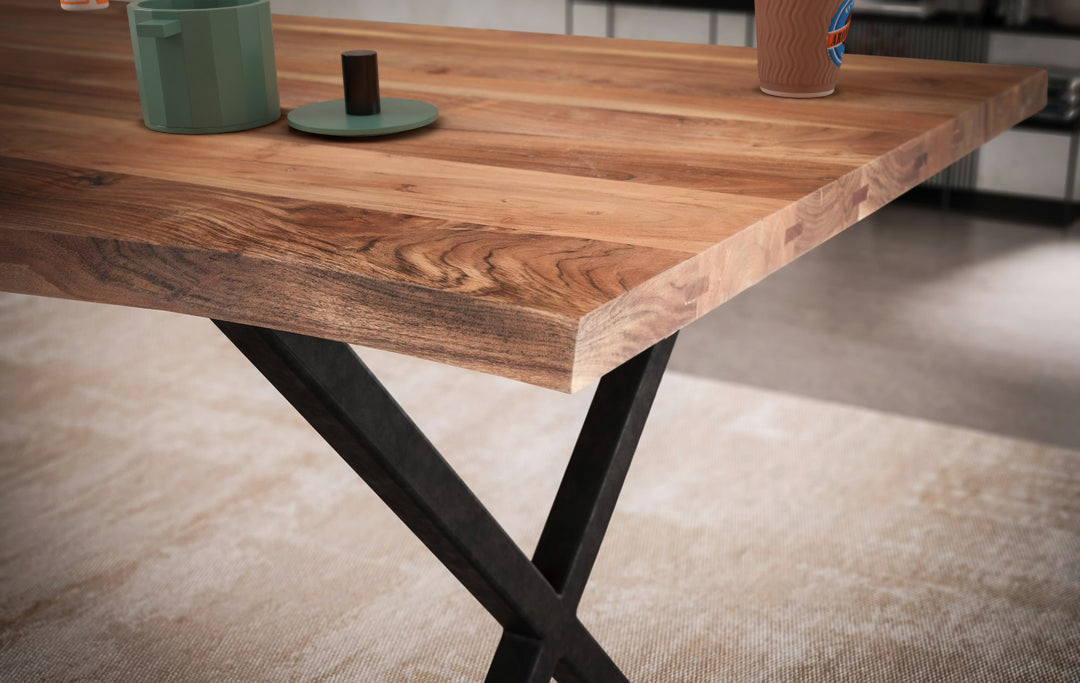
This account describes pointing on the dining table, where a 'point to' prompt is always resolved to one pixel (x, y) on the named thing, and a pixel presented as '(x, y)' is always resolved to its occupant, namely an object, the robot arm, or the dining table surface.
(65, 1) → the pill bottle
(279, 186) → the dining table surface
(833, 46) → the coffee cup
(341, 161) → the dining table surface
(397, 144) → the dining table surface
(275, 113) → the pot
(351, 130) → the lid
